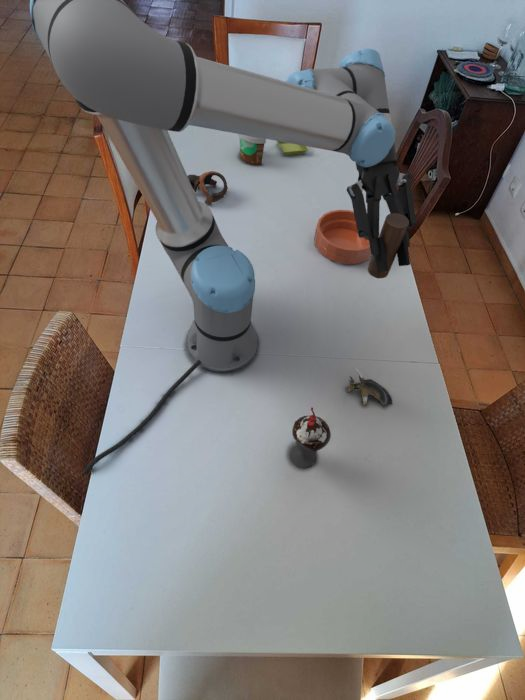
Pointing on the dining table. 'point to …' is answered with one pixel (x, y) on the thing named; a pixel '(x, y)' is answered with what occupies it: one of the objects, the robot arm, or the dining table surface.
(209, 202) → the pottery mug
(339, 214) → the bowl
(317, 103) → the robot arm
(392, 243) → the pestle
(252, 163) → the food container
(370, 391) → the animal figurine
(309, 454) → the sundae
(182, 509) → the dining table surface
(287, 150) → the saucer
